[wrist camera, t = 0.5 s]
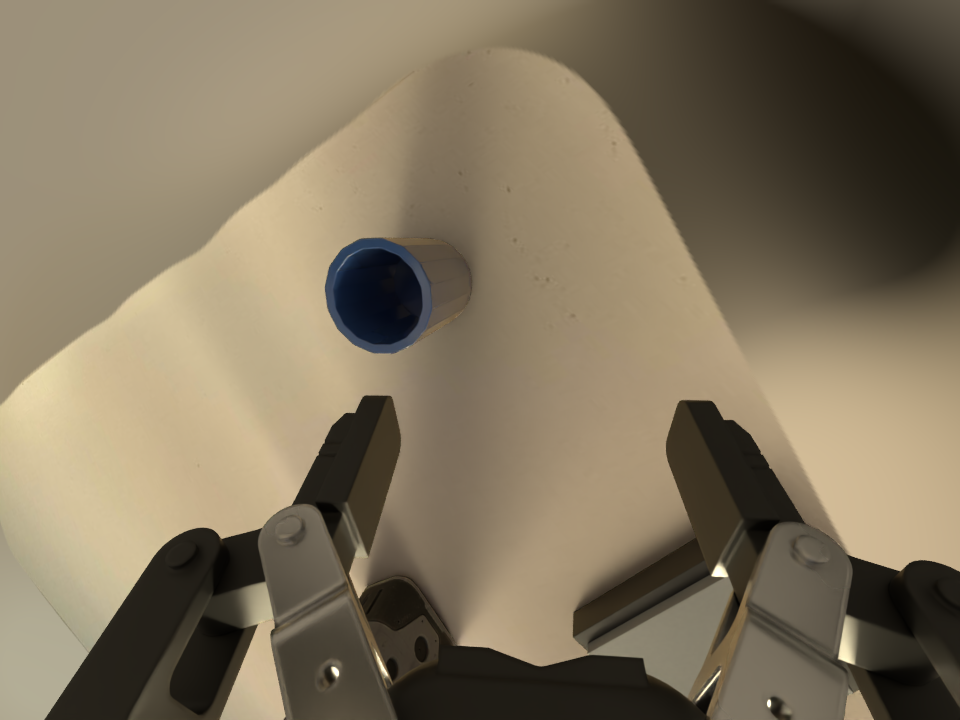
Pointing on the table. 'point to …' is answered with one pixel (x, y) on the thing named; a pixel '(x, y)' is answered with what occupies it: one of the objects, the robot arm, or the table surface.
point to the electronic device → (403, 625)
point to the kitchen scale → (662, 618)
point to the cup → (396, 291)
